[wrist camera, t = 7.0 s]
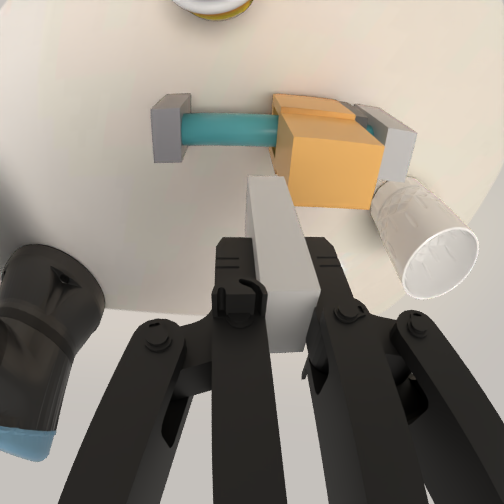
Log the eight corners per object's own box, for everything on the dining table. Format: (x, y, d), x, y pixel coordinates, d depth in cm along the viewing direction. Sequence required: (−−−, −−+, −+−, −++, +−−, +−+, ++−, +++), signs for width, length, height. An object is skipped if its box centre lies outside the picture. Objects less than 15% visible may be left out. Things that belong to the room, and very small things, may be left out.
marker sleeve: (268, 149, 25) (284, 212, 18) (273, 93, 22) (294, 128, 15) (327, 153, 26) (367, 215, 18) (335, 99, 23) (386, 139, 15)
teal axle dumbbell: (168, 141, 26) (149, 175, 20) (166, 90, 23) (144, 110, 18) (371, 151, 27) (403, 186, 22) (380, 104, 24) (418, 129, 19)
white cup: (406, 241, 34) (443, 304, 26) (351, 223, 32) (384, 292, 24) (441, 185, 30) (493, 241, 22) (387, 158, 28) (439, 215, 20)
